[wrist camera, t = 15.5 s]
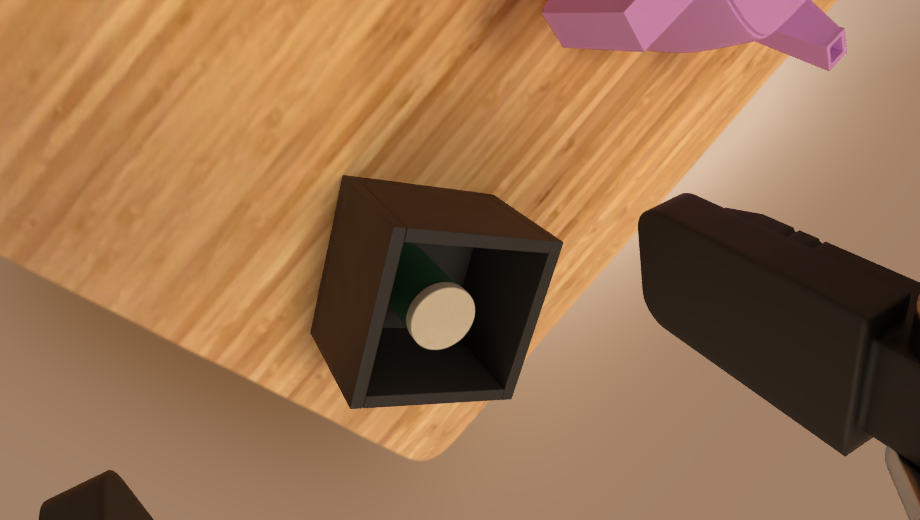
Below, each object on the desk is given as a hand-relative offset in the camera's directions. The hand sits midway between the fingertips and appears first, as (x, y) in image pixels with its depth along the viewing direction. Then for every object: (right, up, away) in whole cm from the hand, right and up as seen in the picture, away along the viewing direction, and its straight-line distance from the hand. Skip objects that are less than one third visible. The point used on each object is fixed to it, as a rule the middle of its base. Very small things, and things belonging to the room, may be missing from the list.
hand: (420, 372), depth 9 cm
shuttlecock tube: (-3, +1, +35) cm, 35 cm away
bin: (-3, +1, +35) cm, 35 cm away
